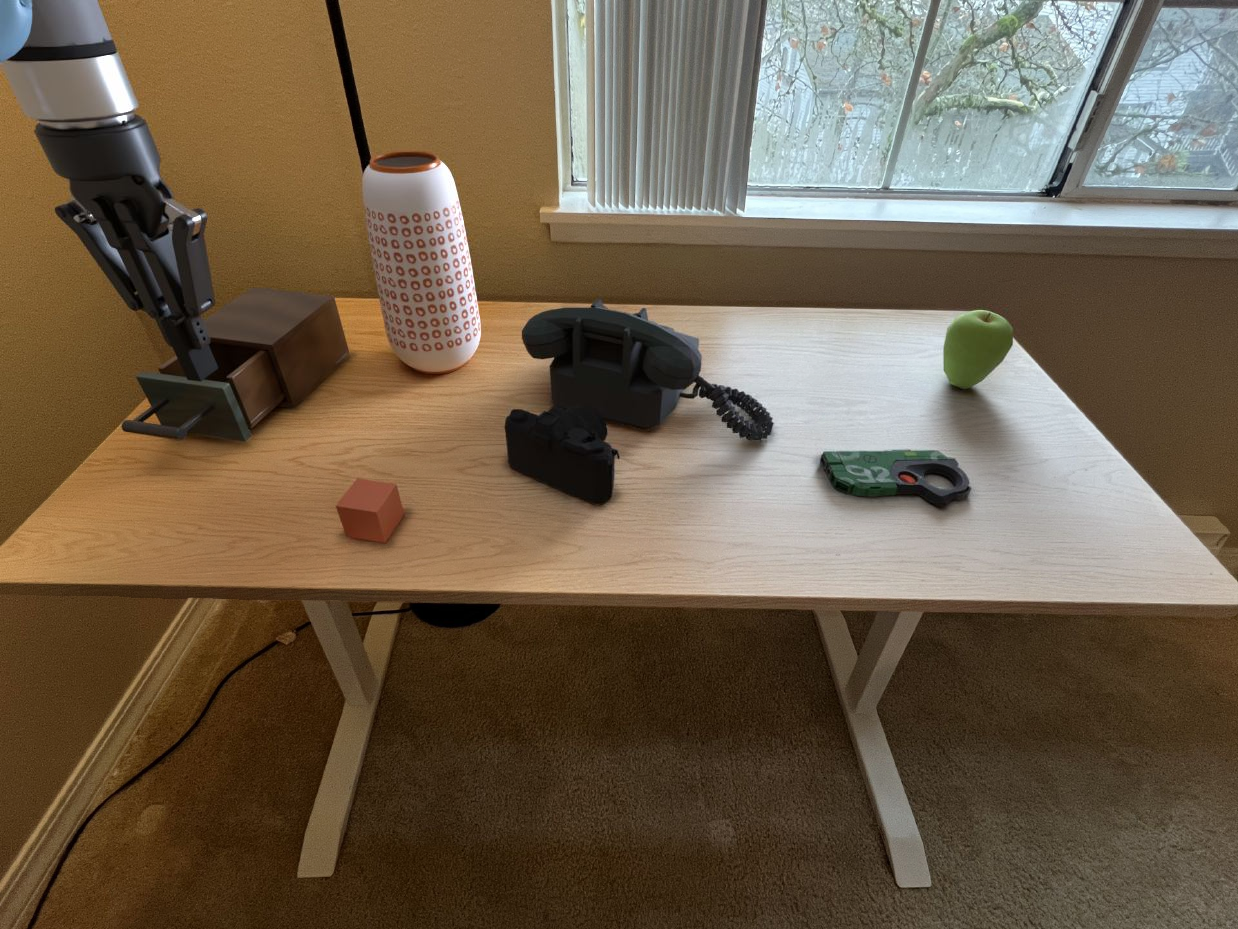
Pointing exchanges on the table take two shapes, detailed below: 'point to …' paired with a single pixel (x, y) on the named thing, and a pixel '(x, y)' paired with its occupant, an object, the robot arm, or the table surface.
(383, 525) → the block
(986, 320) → the apple
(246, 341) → the cabinet
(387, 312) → the white patterned cylinder
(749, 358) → the table surface
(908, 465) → the gun
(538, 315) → the rotary telephone
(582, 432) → the film camera
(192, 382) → the drawer
